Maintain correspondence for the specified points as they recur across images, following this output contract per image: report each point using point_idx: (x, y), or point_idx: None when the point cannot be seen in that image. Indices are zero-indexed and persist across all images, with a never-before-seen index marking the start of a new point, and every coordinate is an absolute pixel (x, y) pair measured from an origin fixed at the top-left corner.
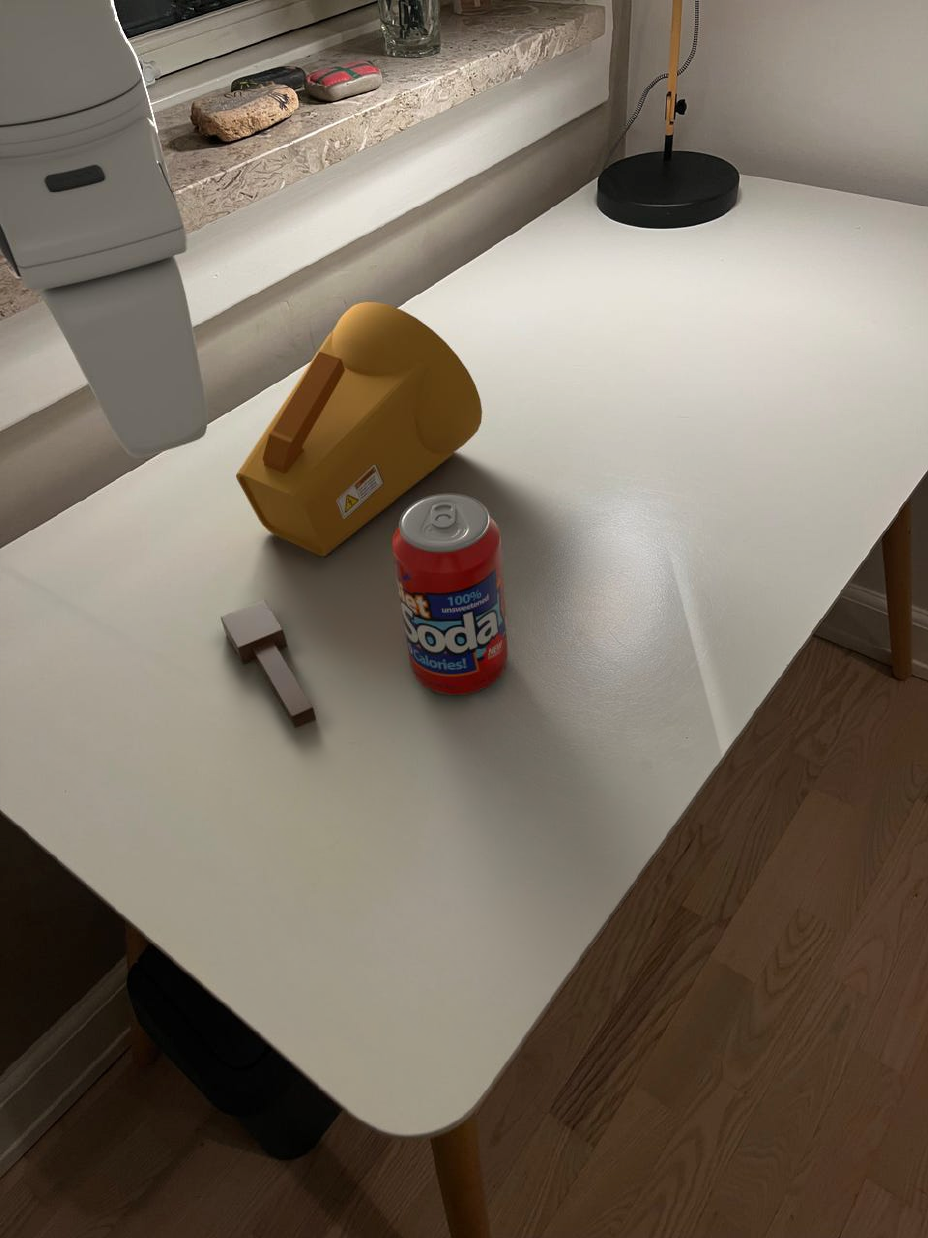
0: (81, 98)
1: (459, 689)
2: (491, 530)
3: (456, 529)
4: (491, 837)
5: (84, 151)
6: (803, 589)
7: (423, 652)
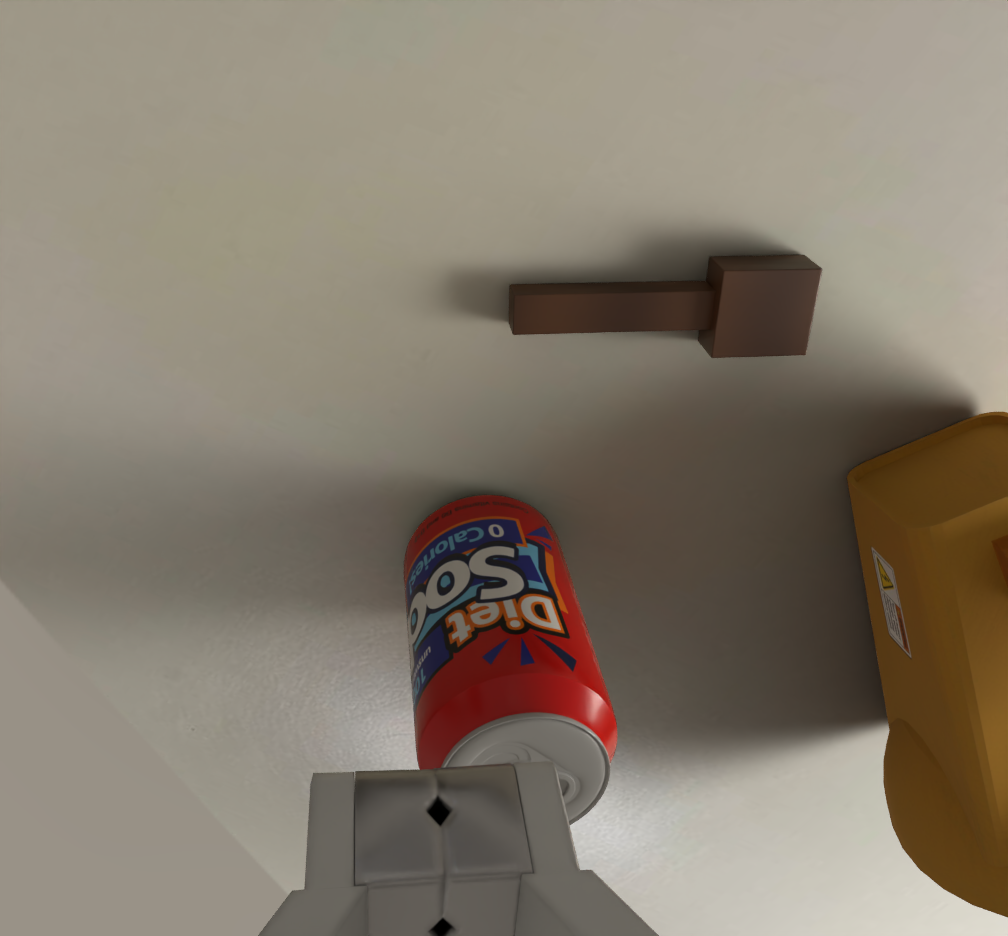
0: None
1: (411, 542)
2: None
3: None
4: (141, 460)
5: None
6: None
7: (458, 550)
